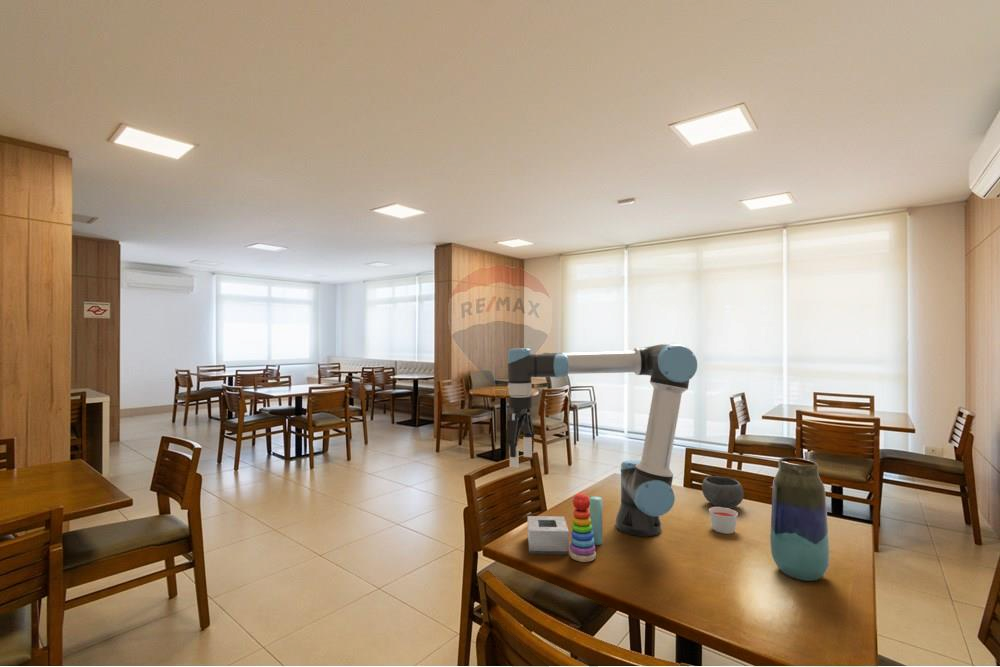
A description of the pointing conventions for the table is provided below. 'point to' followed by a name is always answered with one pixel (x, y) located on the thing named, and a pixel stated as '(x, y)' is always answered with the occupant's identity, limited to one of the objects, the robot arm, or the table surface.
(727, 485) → the bowl
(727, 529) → the candle
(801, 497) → the vase
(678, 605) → the table surface
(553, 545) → the socket block
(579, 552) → the stacking toy
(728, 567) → the table surface
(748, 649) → the table surface
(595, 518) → the peg
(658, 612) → the table surface
